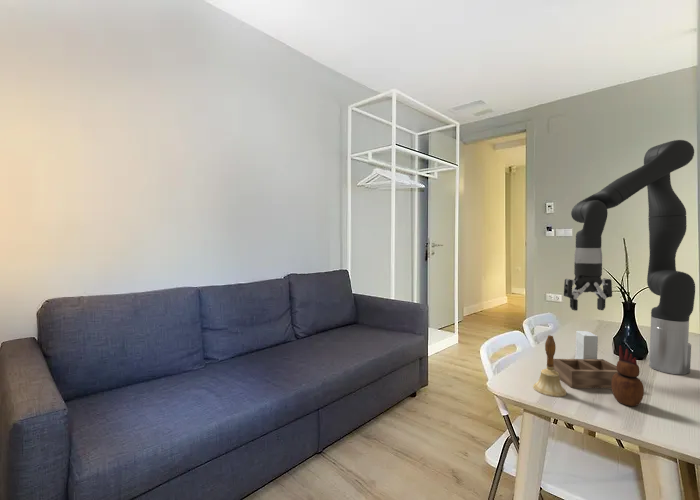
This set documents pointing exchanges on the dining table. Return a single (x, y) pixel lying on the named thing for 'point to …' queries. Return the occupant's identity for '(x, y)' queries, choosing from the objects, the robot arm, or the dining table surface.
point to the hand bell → (550, 374)
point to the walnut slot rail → (585, 372)
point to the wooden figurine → (627, 380)
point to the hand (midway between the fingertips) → (587, 310)
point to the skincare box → (586, 345)
